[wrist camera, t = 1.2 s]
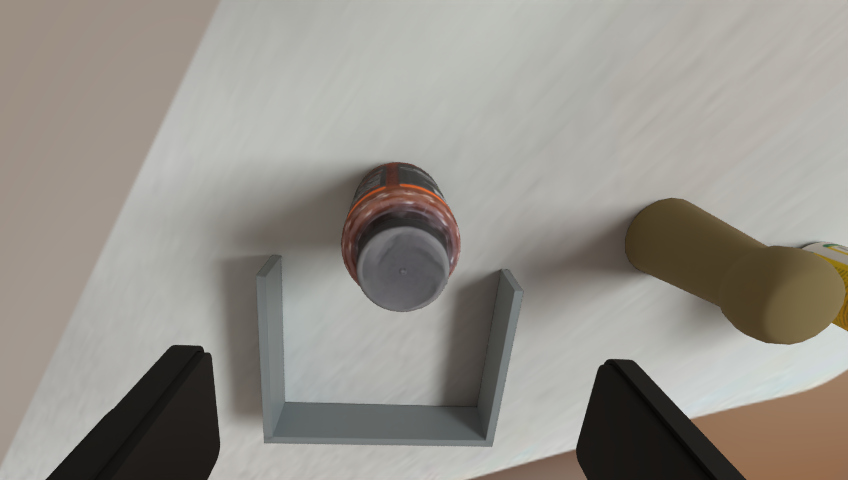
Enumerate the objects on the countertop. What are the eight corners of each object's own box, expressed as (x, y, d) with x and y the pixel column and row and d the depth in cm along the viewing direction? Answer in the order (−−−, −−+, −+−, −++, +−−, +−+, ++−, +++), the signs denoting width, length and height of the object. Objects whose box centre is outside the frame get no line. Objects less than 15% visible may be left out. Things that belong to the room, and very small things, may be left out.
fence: (272, 255, 28) (255, 276, 24) (509, 269, 29) (523, 291, 26) (277, 407, 32) (264, 443, 29) (482, 412, 34) (492, 446, 30)
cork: (619, 276, 30) (737, 368, 20) (630, 200, 28) (768, 258, 18) (694, 271, 30) (849, 359, 20) (711, 195, 28) (892, 250, 18)
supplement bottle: (345, 231, 27) (314, 314, 17) (368, 148, 26) (350, 182, 15) (425, 254, 28) (444, 346, 18) (453, 176, 27) (493, 226, 16)
